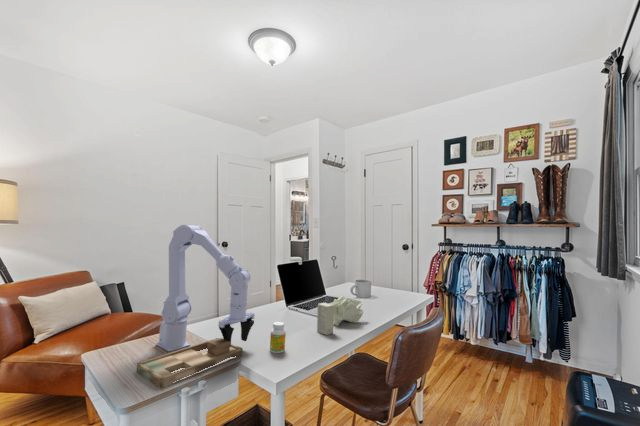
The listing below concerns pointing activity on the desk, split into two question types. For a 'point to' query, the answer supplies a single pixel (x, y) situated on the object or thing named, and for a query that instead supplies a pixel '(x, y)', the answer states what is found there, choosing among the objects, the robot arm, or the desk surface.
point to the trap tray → (181, 363)
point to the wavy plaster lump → (346, 310)
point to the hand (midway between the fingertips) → (235, 343)
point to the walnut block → (218, 347)
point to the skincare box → (325, 318)
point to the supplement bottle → (277, 338)
